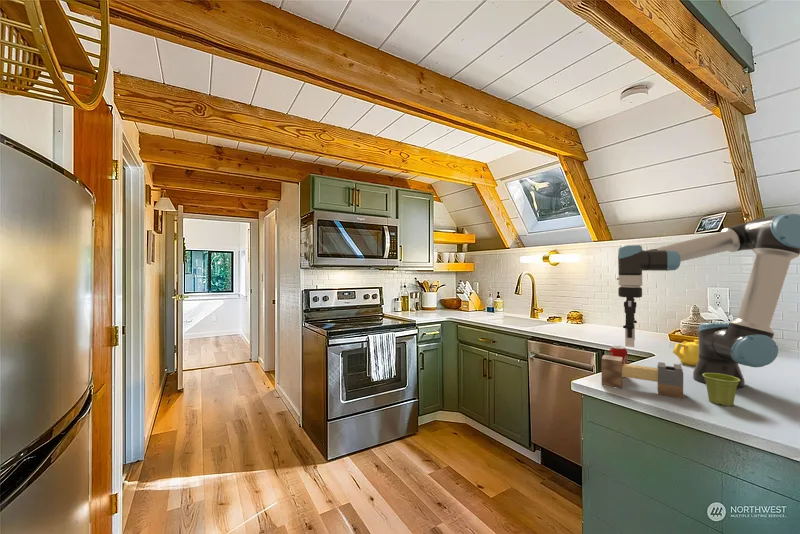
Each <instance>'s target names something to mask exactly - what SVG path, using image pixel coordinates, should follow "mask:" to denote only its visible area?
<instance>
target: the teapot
mask: <svg viewBox="0 0 800 534" xmlns="http://www.w3.org/2000/svg"><path fill="white" fill-rule="evenodd" d="M672 354H674V355H675V356H677V357H678V360H679V361H681V363H683V364H685V365H689V366H693V367H696V365H697V362H698V360H699V339H693V341H686V340H684V341H682V342H681V343H678V342H675V346H674V348H673V350H672Z"/></svg>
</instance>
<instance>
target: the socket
mask: <svg viewBox="0 0 800 534" xmlns="http://www.w3.org/2000/svg"><path fill="white" fill-rule="evenodd" d="M622 362H623V357H617V356H610V355H607V354H603V355H602V357H601V386H602V387H603V386H604V387H609V388H614V387H616V389H620V390H621V389H622V388H623V378H622Z"/></svg>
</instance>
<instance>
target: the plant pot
mask: <svg viewBox="0 0 800 534" xmlns="http://www.w3.org/2000/svg"><path fill="white" fill-rule="evenodd" d="M702 375H703V377H704V379H705V381H706V383H705V385H706V390H707V397H708V400H709V402H710V403H713V404H715V405H720V404H721V405H722V406H727V407H728V406H729V407H732V406H734V404H735V398H736V392H737V385H738V382H740V379H739V378H736V377H733V376H729V375H724V374H717V373H703V374H702Z"/></svg>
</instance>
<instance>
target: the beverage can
mask: <svg viewBox="0 0 800 534" xmlns="http://www.w3.org/2000/svg"><path fill="white" fill-rule="evenodd" d="M609 356H617V357H623V362H622V364H628V350H627V348H626V346H621V345H611V346H610V348H609ZM623 378H625V377H622V379H623Z"/></svg>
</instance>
